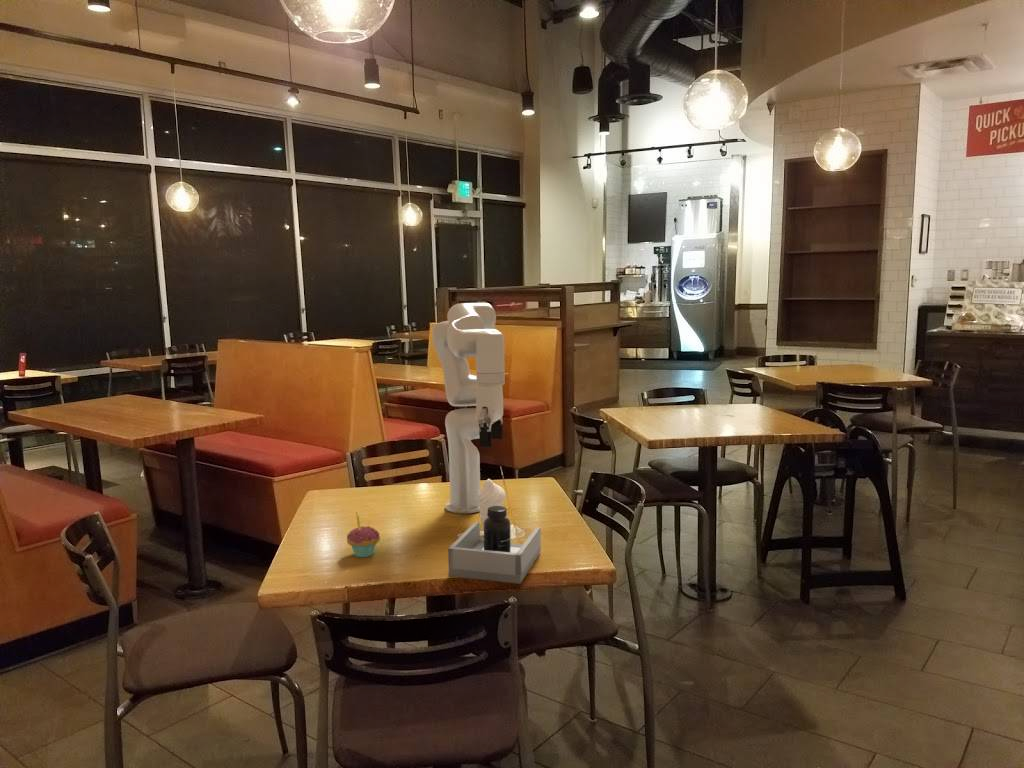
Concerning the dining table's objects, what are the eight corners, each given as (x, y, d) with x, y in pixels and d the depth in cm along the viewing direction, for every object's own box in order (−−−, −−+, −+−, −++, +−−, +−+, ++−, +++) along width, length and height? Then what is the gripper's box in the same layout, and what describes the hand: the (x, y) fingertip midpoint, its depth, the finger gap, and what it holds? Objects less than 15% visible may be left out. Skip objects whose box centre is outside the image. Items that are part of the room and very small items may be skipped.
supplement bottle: (507, 560, 179) (507, 513, 177) (481, 558, 180) (480, 512, 179) (513, 549, 186) (512, 504, 184) (487, 548, 187) (486, 503, 185)
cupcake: (364, 562, 184) (362, 517, 182) (340, 556, 189) (338, 511, 187) (387, 551, 191) (385, 508, 190) (363, 545, 196) (361, 503, 194)
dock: (475, 546, 194) (475, 521, 193) (540, 553, 189) (540, 527, 188) (448, 576, 175) (448, 548, 174) (520, 583, 170) (520, 555, 169)
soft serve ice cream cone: (492, 526, 210) (491, 472, 208) (512, 533, 204) (511, 478, 202) (470, 533, 204) (469, 478, 202) (490, 540, 198) (489, 484, 196)
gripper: (487, 374, 198) (488, 435, 201) (465, 382, 182) (467, 449, 184) (513, 374, 196) (513, 436, 199) (494, 383, 180) (495, 450, 182)
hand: (491, 442), depth 192 cm, fingers open, 9 cm apart
